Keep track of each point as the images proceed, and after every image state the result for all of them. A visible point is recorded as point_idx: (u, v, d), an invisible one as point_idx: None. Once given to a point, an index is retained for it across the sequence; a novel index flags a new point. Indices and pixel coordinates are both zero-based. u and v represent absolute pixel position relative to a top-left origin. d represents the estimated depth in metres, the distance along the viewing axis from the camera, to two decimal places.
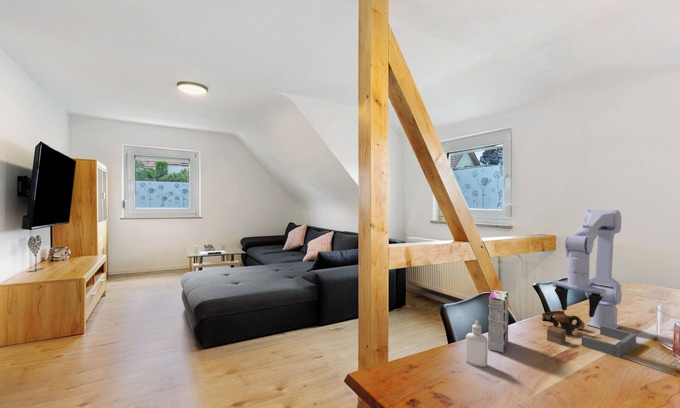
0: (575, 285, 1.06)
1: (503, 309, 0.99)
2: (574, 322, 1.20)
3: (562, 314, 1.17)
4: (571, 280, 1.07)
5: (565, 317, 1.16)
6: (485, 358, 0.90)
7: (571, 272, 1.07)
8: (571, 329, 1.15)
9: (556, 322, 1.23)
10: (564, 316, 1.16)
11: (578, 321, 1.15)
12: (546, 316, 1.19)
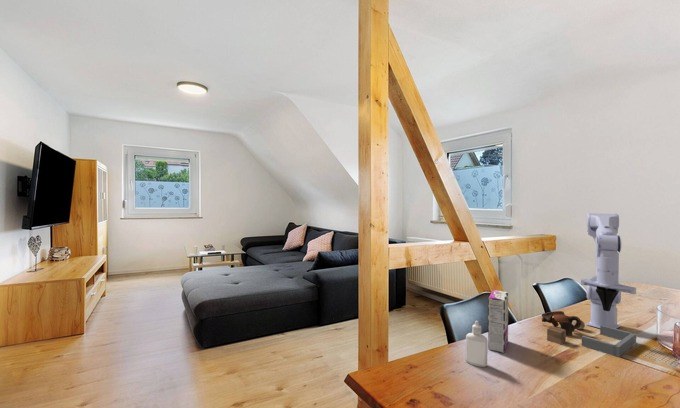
0: (605, 283, 1.09)
1: (503, 309, 0.99)
2: (574, 322, 1.20)
3: (562, 314, 1.17)
4: (601, 279, 1.10)
5: (565, 317, 1.16)
6: (485, 358, 0.90)
7: (601, 271, 1.10)
8: (571, 330, 1.14)
9: (556, 322, 1.22)
10: (564, 316, 1.16)
11: (578, 321, 1.15)
12: (546, 317, 1.19)
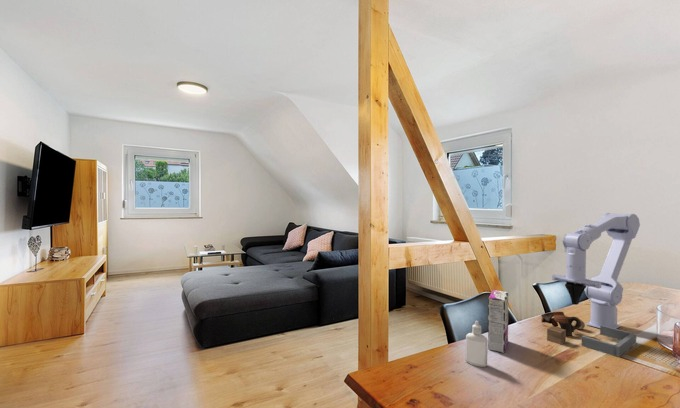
0: (573, 278, 1.16)
1: (503, 309, 0.99)
2: (574, 322, 1.20)
3: (562, 315, 1.16)
4: (569, 274, 1.17)
5: (565, 318, 1.15)
6: (485, 358, 0.90)
7: (569, 266, 1.17)
8: (571, 330, 1.14)
9: (555, 323, 1.22)
10: (564, 317, 1.15)
11: (578, 322, 1.14)
12: (545, 317, 1.18)
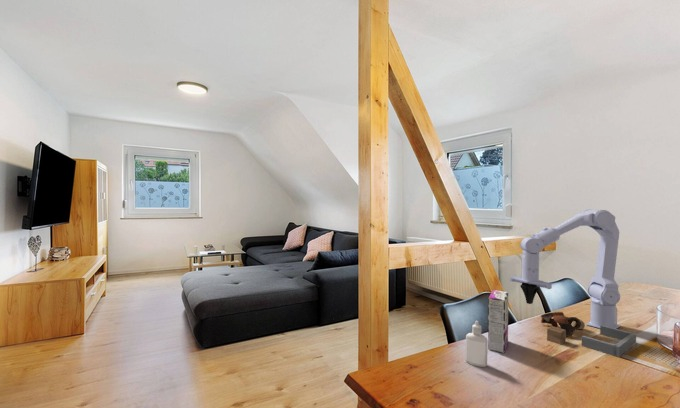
0: (527, 279, 1.25)
1: (503, 309, 0.99)
2: (574, 322, 1.20)
3: (561, 315, 1.16)
4: (524, 276, 1.26)
5: (564, 318, 1.15)
6: (485, 358, 0.90)
7: (524, 269, 1.27)
8: (571, 331, 1.13)
9: (555, 323, 1.21)
10: (563, 317, 1.15)
11: (578, 322, 1.14)
12: (545, 318, 1.17)
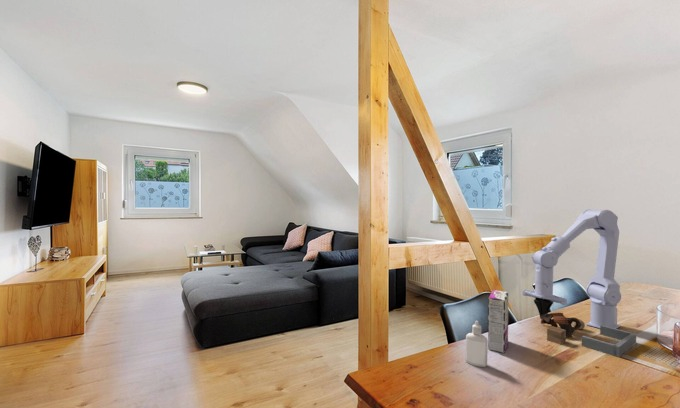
0: (540, 294, 1.21)
1: (503, 309, 0.99)
2: (574, 322, 1.20)
3: (561, 316, 1.15)
4: (538, 290, 1.22)
5: (564, 319, 1.14)
6: (485, 358, 0.90)
7: (537, 283, 1.23)
8: (571, 331, 1.13)
9: (555, 324, 1.20)
10: (563, 318, 1.14)
11: (578, 323, 1.13)
12: (545, 318, 1.17)
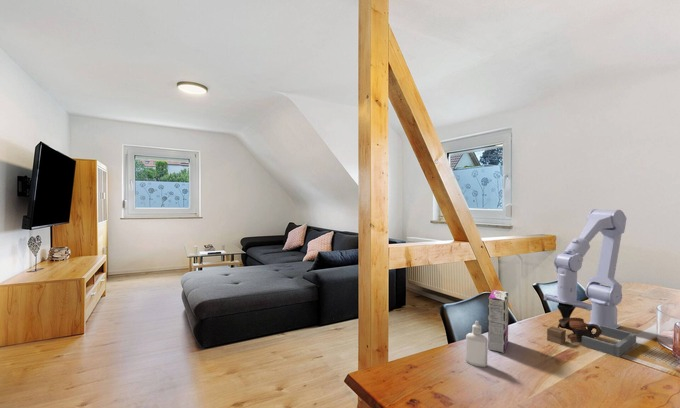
0: (564, 300, 1.16)
1: (503, 309, 0.99)
2: None
3: (579, 321, 1.10)
4: (561, 295, 1.17)
5: (582, 325, 1.08)
6: (485, 358, 0.90)
7: (560, 288, 1.17)
8: None
9: None
10: (581, 324, 1.09)
11: (597, 330, 1.07)
12: (561, 322, 1.12)
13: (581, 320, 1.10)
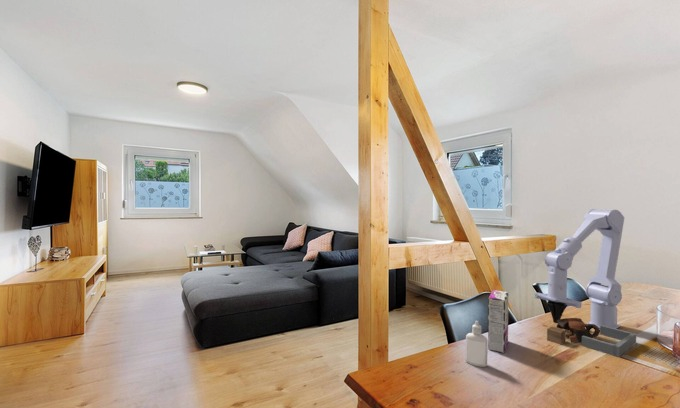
0: (554, 297, 1.18)
1: (503, 309, 0.99)
2: None
3: (578, 322, 1.10)
4: (551, 293, 1.19)
5: (581, 325, 1.09)
6: (485, 358, 0.90)
7: (551, 286, 1.19)
8: None
9: (573, 330, 1.15)
10: (580, 324, 1.09)
11: (596, 330, 1.07)
12: (560, 323, 1.12)
13: (579, 320, 1.11)
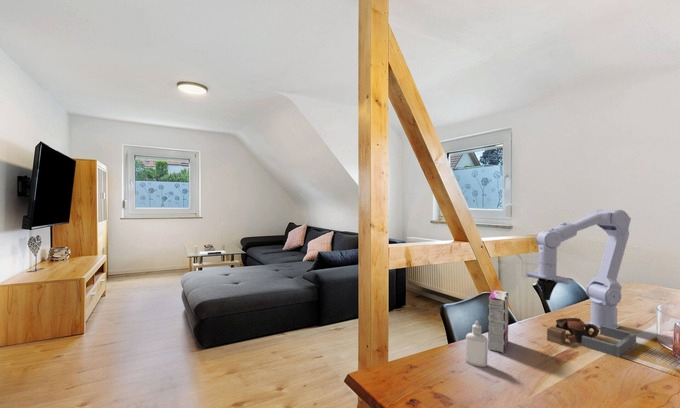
0: (544, 275, 1.21)
1: (503, 309, 0.99)
2: None
3: (577, 322, 1.10)
4: (541, 271, 1.22)
5: (580, 325, 1.09)
6: (485, 358, 0.90)
7: (541, 263, 1.22)
8: None
9: (572, 330, 1.15)
10: (579, 324, 1.09)
11: (595, 330, 1.07)
12: (559, 323, 1.12)
13: (578, 320, 1.11)
